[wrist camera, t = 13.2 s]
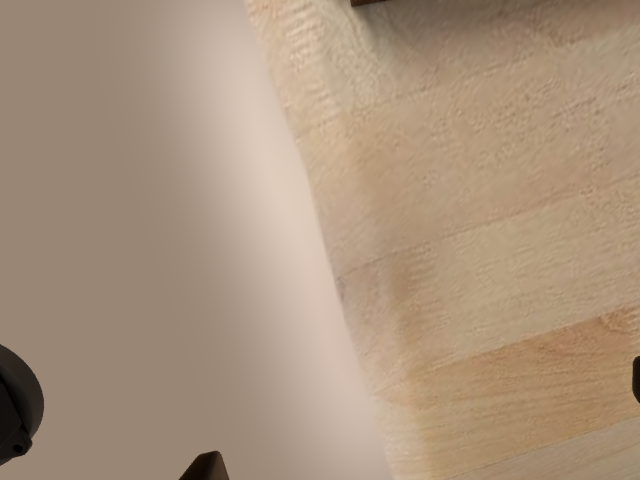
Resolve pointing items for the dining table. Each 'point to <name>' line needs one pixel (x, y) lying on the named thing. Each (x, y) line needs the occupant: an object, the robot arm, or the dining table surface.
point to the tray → (363, 2)
